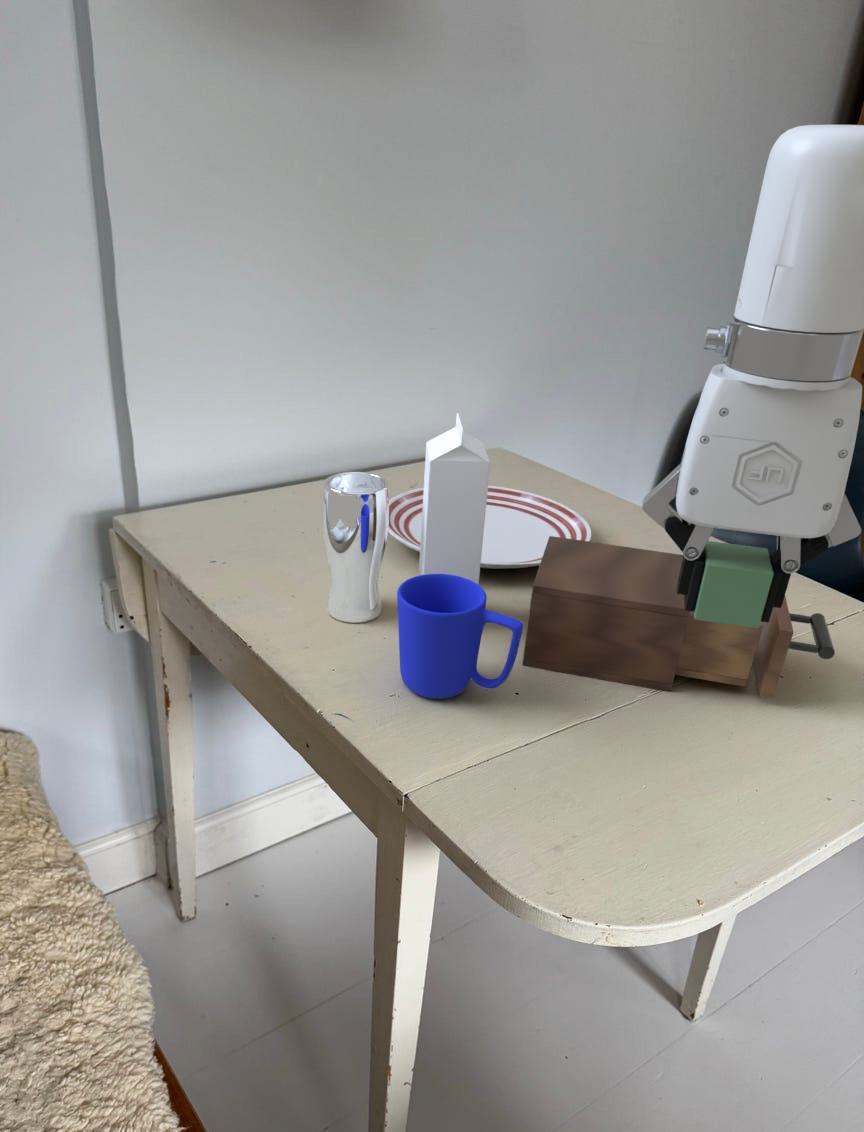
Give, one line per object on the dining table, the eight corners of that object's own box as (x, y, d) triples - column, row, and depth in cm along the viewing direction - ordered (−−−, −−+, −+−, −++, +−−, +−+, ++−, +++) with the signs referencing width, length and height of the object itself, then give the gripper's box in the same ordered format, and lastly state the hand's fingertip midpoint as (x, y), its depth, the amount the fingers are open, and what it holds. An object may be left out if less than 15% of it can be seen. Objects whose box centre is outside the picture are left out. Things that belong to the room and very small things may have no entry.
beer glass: (359, 631, 93) (362, 499, 85) (310, 611, 96) (308, 482, 89) (397, 608, 98) (403, 481, 90) (349, 589, 101) (351, 466, 94)
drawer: (808, 648, 91) (829, 586, 87) (823, 707, 82) (847, 640, 78) (633, 620, 95) (645, 559, 92) (628, 673, 86) (641, 608, 82)
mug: (494, 730, 78) (505, 635, 73) (377, 691, 83) (381, 599, 78) (527, 687, 85) (539, 596, 79) (416, 653, 89) (422, 565, 84)
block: (753, 601, 65) (767, 547, 63) (758, 629, 62) (774, 573, 59) (692, 593, 66) (704, 540, 64) (694, 619, 63) (706, 564, 60)
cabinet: (672, 631, 95) (689, 555, 91) (670, 691, 85) (690, 610, 80) (539, 609, 99) (549, 535, 94) (522, 665, 88) (532, 585, 84)
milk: (419, 629, 94) (429, 429, 83) (416, 603, 99) (426, 411, 88) (475, 630, 94) (493, 430, 83) (470, 603, 99) (486, 412, 88)
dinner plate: (487, 489, 131) (489, 467, 130) (632, 552, 113) (637, 529, 111) (338, 528, 116) (338, 505, 115) (477, 609, 98) (480, 583, 96)
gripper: (650, 354, 53) (605, 614, 63) (954, 378, 50) (858, 652, 59) (651, 331, 60) (610, 571, 69) (922, 351, 56) (839, 602, 65)
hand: (725, 606), depth 64 cm, fingers closed on block, 4 cm apart
